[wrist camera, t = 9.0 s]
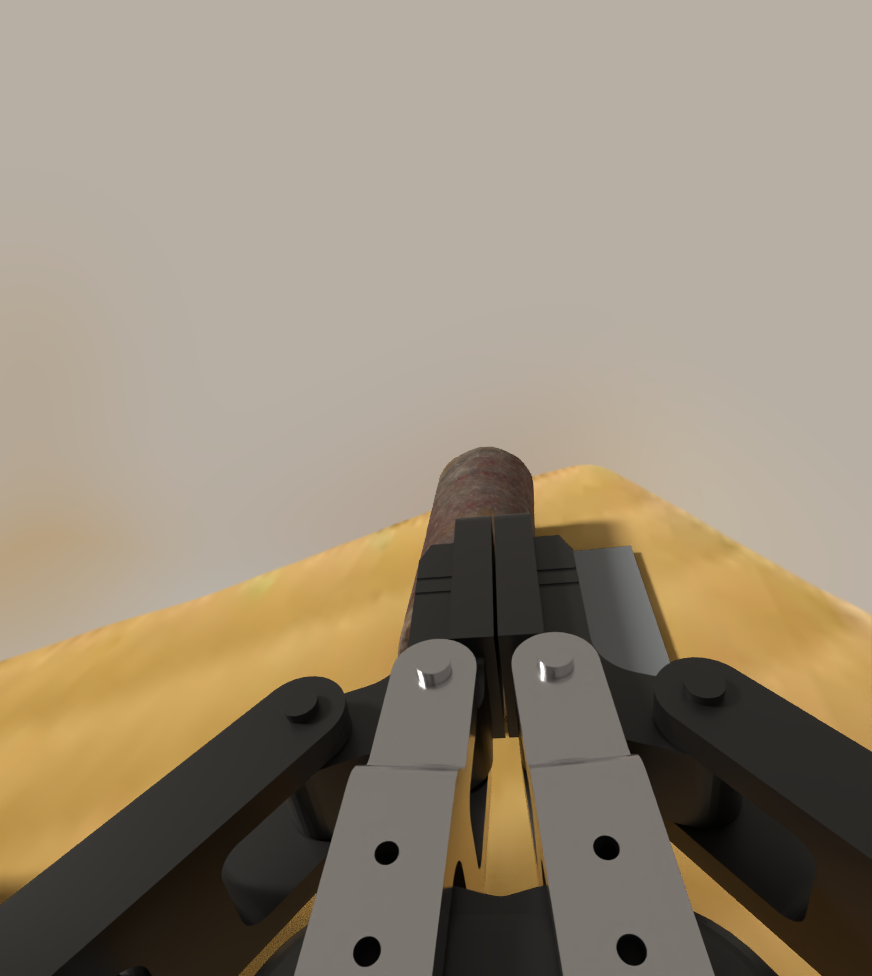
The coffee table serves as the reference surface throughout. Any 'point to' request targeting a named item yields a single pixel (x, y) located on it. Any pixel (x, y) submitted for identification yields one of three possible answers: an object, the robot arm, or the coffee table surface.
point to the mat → (619, 610)
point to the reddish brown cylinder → (474, 501)
